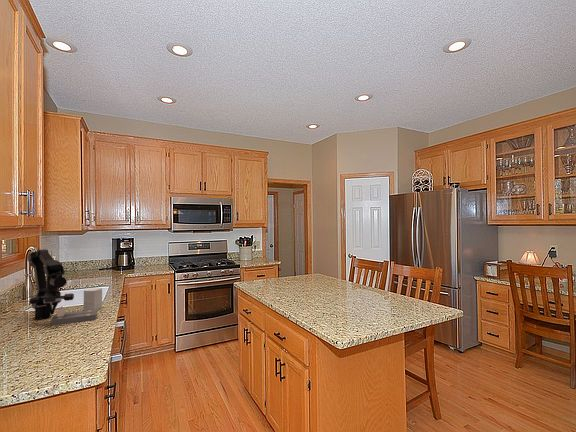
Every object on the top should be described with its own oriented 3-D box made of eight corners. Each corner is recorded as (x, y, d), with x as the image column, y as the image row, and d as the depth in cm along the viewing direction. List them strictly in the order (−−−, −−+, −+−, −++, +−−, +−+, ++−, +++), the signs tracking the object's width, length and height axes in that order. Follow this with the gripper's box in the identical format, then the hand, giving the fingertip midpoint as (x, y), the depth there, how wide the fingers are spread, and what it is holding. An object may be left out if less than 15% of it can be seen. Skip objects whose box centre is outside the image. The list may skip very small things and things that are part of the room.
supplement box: (102, 308, 197) (102, 288, 198) (94, 311, 190) (94, 290, 190) (91, 307, 198) (92, 287, 198) (83, 310, 191) (83, 290, 191)
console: (50, 325, 163) (51, 319, 163) (55, 319, 174) (55, 314, 174) (95, 320, 173) (95, 314, 173) (96, 314, 183) (96, 309, 183)
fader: (56, 317, 167) (57, 308, 167) (58, 314, 172) (58, 306, 172) (63, 316, 169) (63, 308, 169) (65, 313, 173) (65, 305, 173)
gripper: (26, 290, 157) (26, 320, 157) (71, 286, 166) (70, 315, 165) (32, 286, 167) (32, 315, 167) (74, 283, 176) (73, 310, 175)
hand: (52, 314), depth 168 cm, fingers closed
